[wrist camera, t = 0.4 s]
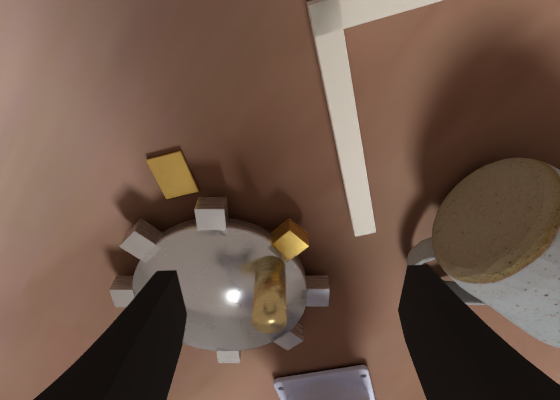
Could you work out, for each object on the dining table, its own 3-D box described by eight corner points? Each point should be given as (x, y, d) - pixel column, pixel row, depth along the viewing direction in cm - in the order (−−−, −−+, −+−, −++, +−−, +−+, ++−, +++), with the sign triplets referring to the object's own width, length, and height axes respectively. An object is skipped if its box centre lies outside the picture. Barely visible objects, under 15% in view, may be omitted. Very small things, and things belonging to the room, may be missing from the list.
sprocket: (342, 331, 27) (355, 402, 23) (170, 360, 29) (151, 431, 25) (299, 173, 20) (305, 233, 16) (73, 226, 22) (23, 292, 18)
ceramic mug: (505, 123, 19) (615, 209, 13) (597, 196, 22) (729, 299, 15) (369, 251, 24) (400, 359, 18) (456, 298, 27) (511, 408, 20)
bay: (639, 159, 20) (663, 173, 19) (350, 221, 22) (355, 236, 21) (722, -124, 14) (767, -132, 13) (306, 2, 16) (308, 5, 15)
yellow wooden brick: (264, 293, 26) (264, 299, 25) (205, 305, 27) (204, 311, 26) (202, 144, 20) (200, 149, 19) (126, 163, 20) (123, 168, 20)
